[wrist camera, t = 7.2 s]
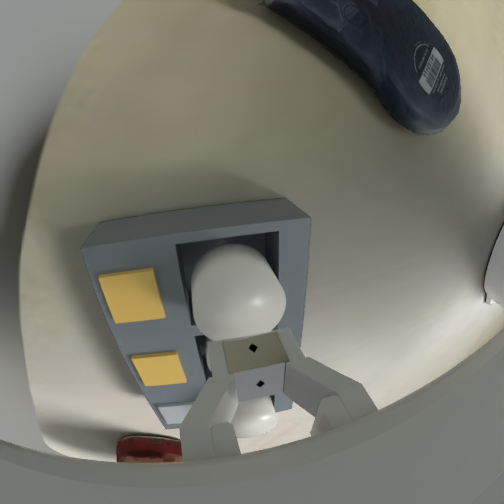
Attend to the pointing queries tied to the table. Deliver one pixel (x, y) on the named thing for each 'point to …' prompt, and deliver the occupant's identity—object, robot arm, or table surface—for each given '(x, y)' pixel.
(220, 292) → the end button
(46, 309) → the table surface
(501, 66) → the table surface
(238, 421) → the button
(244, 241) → the button panel
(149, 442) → the character mug
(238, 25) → the table surface
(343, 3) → the electronic device
